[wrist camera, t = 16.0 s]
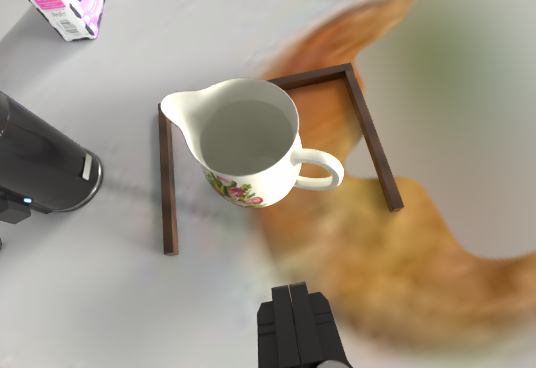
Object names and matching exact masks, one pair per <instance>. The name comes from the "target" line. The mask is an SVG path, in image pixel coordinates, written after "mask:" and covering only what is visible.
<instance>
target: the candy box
mask: <svg viewBox="0 0 536 368" xmlns="http://www.w3.org/2000/svg"><path fill="white" fill-rule="evenodd" d="M29 1H30V2H31V3H32V4H33V6H34V7H35V8H36V9H37V10H38V11H39V12H40V13H41V14H42V16H43V17H44V18H45V19H46V20H47V21H48V22H49V23H50V25H51V26H52V27H53V28H54V29H55V30H56V31H57V32H58V33H59V35H60V36H61V37H62V38H63V39H64V40H65V41H66V42H68V41H77V40H87V39H95V38H96V36H97V33H98V27H99V23H100V19H101V14H102V10H103V5H104V1H105V0H29Z"/></svg>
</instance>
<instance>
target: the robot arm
mask: <svg viewBox="0 0 536 368" xmlns="http://www.w3.org/2000/svg"><path fill="white" fill-rule="evenodd" d="M102 178H103V167H102V164H101V161H100V160H99V158H98V157H97V156H96V155H94V154H93V153H92V152H90V151H88V150H86V149H85V148H83V147H81V146H80V145H79V144H77V143H76V142H74V141H73V140H71V139H70V138H68V137H67V136H66V135H64V134H63V133H61V132H60V131H58V130H57V129H55V128H54V127H52V126H51V125H50V124H48V123H47V122H45V121H44V120H42V119H41V118H39V117H38V116H36V115H35V114H33V113H32V112H31V111H29V110H28V109H26V108H25V107H23V106H22V105H20V104H19V103H17V102H16V101H14V100H13V99H12V98H10V97H9V96H7V95H6V94H4V93H3V92H1V91H0V221H4V222H8V223H12V224H16V223H18V222H20V221H22V220H24V219H25V218H27V217H29V216H31V212H30V209H32V210H36V211H39V212H42V213H45V214H48V213H50V212H52V211H55V212H68V211H72V210H75V209H77V208H79V207H81V206H83V205H84V204H85V203H87V202H88V201H89V200H90V199H91V198H92V197H93V196H94V195H95V193H96V192H97V190H98V189H99V187H100V184H101V182H102ZM1 245H2V242H1V239H0V249H1ZM289 287H290V292H289V288H288V285H285V286H280V287H275V288H272V300H273V301H270V302H265V303H262V304H261V306H260V308H259V311H258V313H257V325H258V368H353V367H352V366H351V365H350V364H349V362H348V360H347V358H346V355H345V352H344V349H343V346H342V343H341V340H340V337H339V334H338V330H337V327H336V324H335V322H334V318H333V315H332V312H331V309H330V305H329V302H328V300H327V299H326V298H325V297H324V296H323V295H322V293H321V292H317V293H311V294H308V291H307V286H306V283H305V282H300V283H295V284H290V285H289ZM290 293H291V297H290ZM291 299H292V302H291ZM292 305H293V306H292Z"/></svg>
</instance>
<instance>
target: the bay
mask: <svg viewBox="0 0 536 368" xmlns="http://www.w3.org/2000/svg"><path fill="white" fill-rule="evenodd" d="M340 78H344V80H345V83H346V86H347V89H348V92H349V95H350V98H351V100H352V103H353V106H354V109H355V112H356V115H357V118H358V120H359V123H360V126H361V129H362V132H363V135H364V137H365V140H366V143H367V146H368V149H369V152H370V154H371V157H372V160H373V163H374V166H375V169H376V172H377V175H378V177H379V180H380V183H381V186H382V189H383V192H384V195H385V197H386V200H387V203H388V206H389V209H390V212H395V211H400V210H401V209H402V208H404V205H403V202H402V199H401V197H400V194H399V191H398V189H397V186H396V183H395V180H394V178H393V175H392V172H391V170H390V167H389V165H388V162H387V159H386V156H385V154H384V151H383V148H382V145H381V143H380V140H379V138H378V135H377V132H376V129H375V127H374V124H373V121H372V119H371V116H370V113H369V110H368V108H367V105H366V102H365V100H364V97H363V94H362V92H361V89H360V86H359V84H358V81H357V78H356V75H355V73H354V70H353V67H352V65H351V63H347V64H342V65H337V66H333V67H328V68H323V69H319V70H314V71H309V72H304V73H300V74H295V75H290V76H286V77H281V78H276V79H272V80H267V82H270V83H272V84H274V85H276V86H278V87H279V88H281V89H282V90H288V89H293V88H297V87H302V86H307V85H311V84H316V83H321V82H326V81H330V80H335V79H340ZM160 104H161V103H159V104H158V110H159V137H160V163H161V189H162V214H163V240H164V254H165V255H168V256H171V255H176V254H178V240H177V222H176V205H175V187H174V170H173V152H172V135H171V121H170V120H169V119H168V118H167V117H166V116H165V115H164V114H163V113H162V111H161V108H160Z"/></svg>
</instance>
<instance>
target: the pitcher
mask: <svg viewBox="0 0 536 368" xmlns="http://www.w3.org/2000/svg"><path fill="white" fill-rule="evenodd" d="M160 108H161V111H162V113H163V114H164V115H165V116H166V117H167V118H168V119H169V120H170V121H171V122H172V123H173V124H174V125H176V126H177V127H178V128H179V129H180V130H181V132H182V134H183V136H184V138H185V141H186V144H187V146H188V148H189V150H190V152H191V154H192V155H193V157H194V158H195V159H196V160H197V161H198V162H199V163H200V164H201V167H202V170H203V173H204V174H205V176H206V178H207V180H208V182H209V183H210V184H211V186H212V187H213V188H214V189H215V190H216V191H217V192H218V193H219V194H220V195H221V196H222V197H224V198H225V199H227V200H228V201H230V202H232V203H234V204H236V205H239V206H243V207H248V208H260V207H265V206H269V205H271V204H274V203H276V202H277V201H279V200H280V199H282V198H283V197H284V196H285V195H286V194H287V193H288V192H289V191H290V189H291V188H292V187H298V188H303V189H309V190H320V191H322V190H331V189H334V188H336V187H337V186H338V185H339V184H340V183H341V181H342V178H343V168H342V165H341V163H340V162H339V161H338V160H337V159H336V158H335V157H333V156H332V155H330V154H328V153H325V152H322V151H319V150H313V149H302V147H301V141H300V138H299V135H298V129H299V117H298V112H297V109H296V107H295V105H294V103H293V101H292V99H291V98H290V97H289V95H288V94H287V93H286V92H285V91H283V90H282V89H281V88H279V87H278V86H276V85H274V84H272V83H270V82H267V81H264V80H260V79H255V78H235V79H229V80H225V81H222V82H219V83H217V84H214V85H212V86H209V87H207V88H204V89H200V90H189V91H180V92H175V93H171V94H169V95H167V96H166V97H164V99H163V100H162V101H161V104H160ZM301 163H310V164H315V165H318V166H321V167H323V168H325V169H326V170H328V171H329V172H330V174H331V177H328V178H320V179H314V178H306V177H301V176H299V172H300V168H301Z"/></svg>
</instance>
